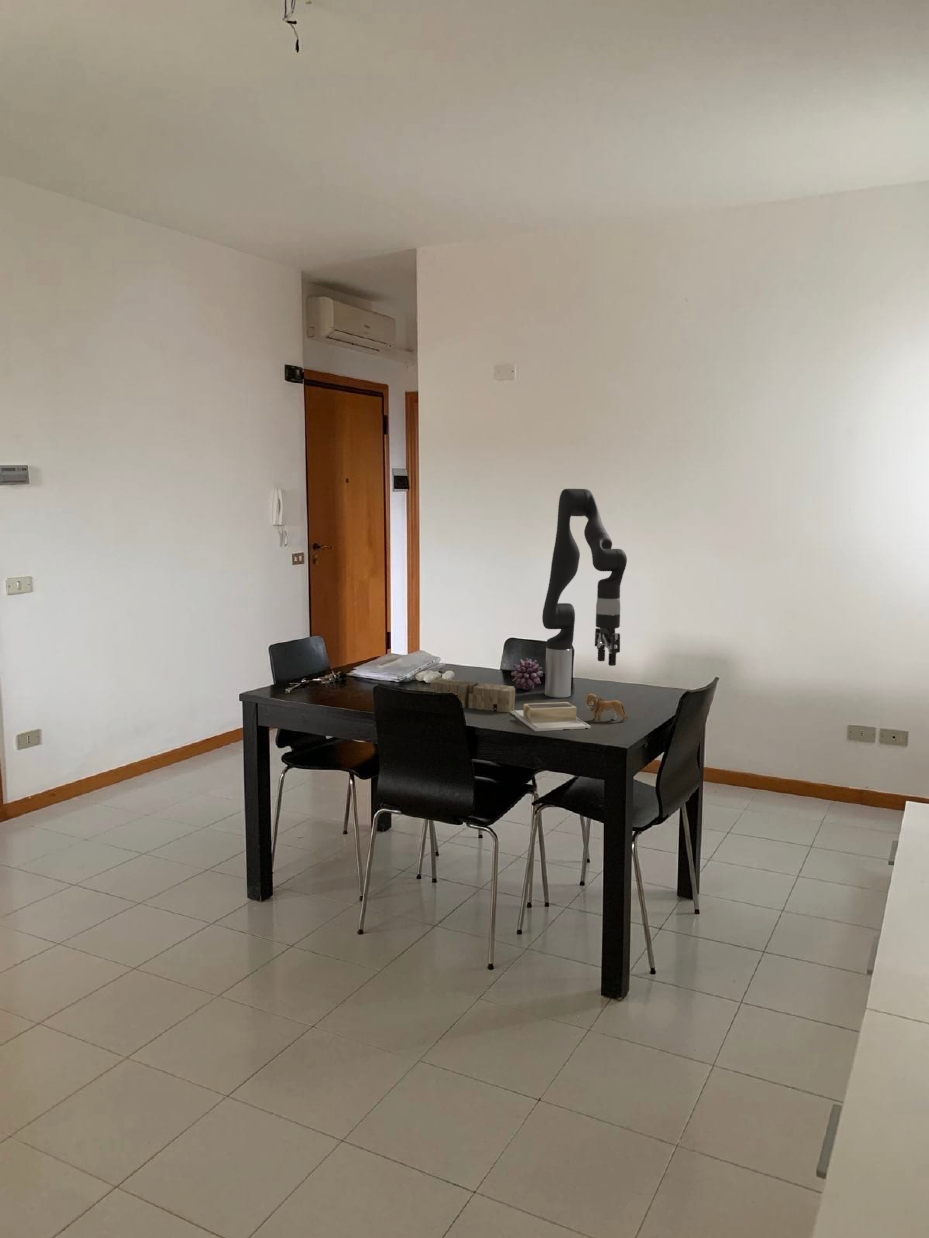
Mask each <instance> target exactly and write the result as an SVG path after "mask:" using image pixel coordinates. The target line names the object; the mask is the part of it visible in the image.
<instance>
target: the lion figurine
mask: <svg viewBox="0 0 929 1238" xmlns="http://www.w3.org/2000/svg"><path fill="white" fill-rule="evenodd" d="M584 704H585V707H586V708H587V709H588V710H589V711H590V713H593V716H594V717H592V720H593V719H597V720H595V722H596V723H600V722H601V720H602V718H601V716H602V713H609V712H612V711H613V713H614V716H613V717H610V720H612V719H613V721H614V720H616V719H617V717H618V716H620V717H621V718H622V719H621V720H620V722H622V723H624V722H626V720H628V719H629V717H628V716H627V715H626V710H625V706H624V704H623V703H622V701H620V700H617V699H615V700H614V699H612V700H604V699H602V697H600V696H598V695H596V694H594V693H588V694H587V695H586V696H585V698H584Z"/></svg>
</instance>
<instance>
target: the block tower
mask: <svg viewBox="0 0 929 1238" xmlns="http://www.w3.org/2000/svg"><path fill="white" fill-rule="evenodd" d="M429 684H430V686H429V687H430V688H429V689H430V690H433V693H434V692H435V693H453V694H455V695H458V696H459V698H460V700H461V702H462V705H463V707H462V708H467V707H468V709H473V708H481V709H480V710H482V709H489V710H493V711H495V710H496V712H497V711H499V712H500V713H505V712H510V713H511V711H512V710H513V711H515V705H516V704H515V703H516V702H515V701H516V688H515V686H514V685H513V686H512V685H504V684H494V683H485V682H481V683H480V684H479V682H476V681H467V680H458V679H449V678H448V679H447V678H446V679H445V678H444V677H438V678H436V679H434V680H431V681H430V683H429ZM468 705H469V706H468ZM495 708H497V709H495ZM494 709H495V710H494ZM489 710H488V711H489Z"/></svg>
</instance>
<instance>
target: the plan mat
mask: <svg viewBox="0 0 929 1238" xmlns="http://www.w3.org/2000/svg"><path fill="white" fill-rule="evenodd" d="M510 714H512V715H513V716H514V715H515V716H514V717H515V718H517V719H518V720H520V721H521V722H522V723H523V724H525V725H526V726H527V727H528V728H530V729H531V730H532V731H534V732H548V731H564V730H563V729H570V730H583V729H585V728H588V729H591V725H590V724H588V723H587V722H585V721H583V720H581V719H580V718H579V717H577V716H576V720H565V721H545V722H530V721H529V720H528V719H526V718H525V717H524V716H523V709H520V710H519V709H518V710H515V709H514V710H513V711H511V712H510ZM585 730H586V729H585Z"/></svg>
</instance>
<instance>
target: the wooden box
mask: <svg viewBox="0 0 929 1238" xmlns="http://www.w3.org/2000/svg"><path fill="white" fill-rule="evenodd" d="M577 709H578V708H577V706H575V705H573V704H571V703H570V702H569V701H562V702H561V701H560V702H538V703H537V702H536V703H523V709H522V710H523V716H524V717H525V718H526V719H528V720H529V721H530V722H545V721H565V720H576V717H577V713H578V712H577Z"/></svg>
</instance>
